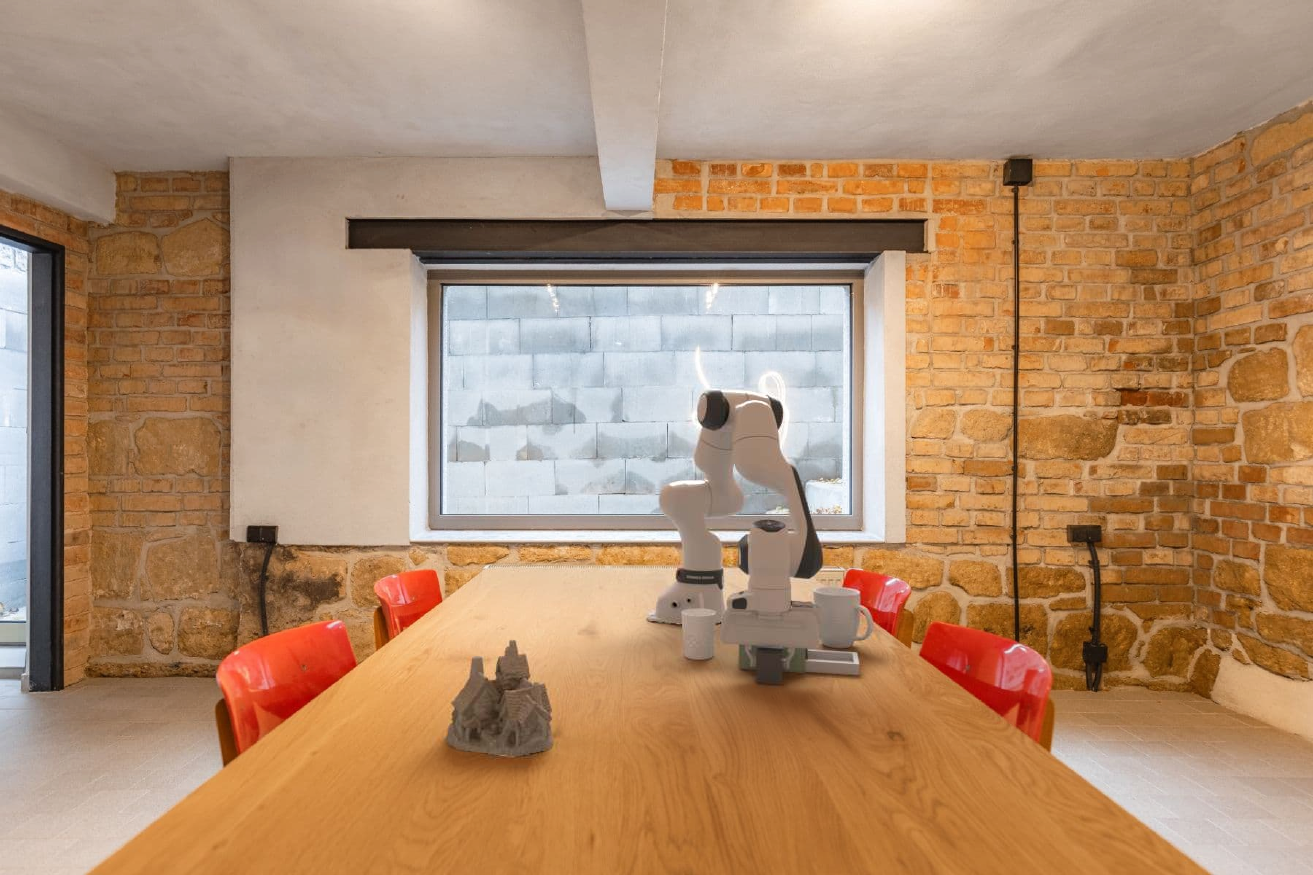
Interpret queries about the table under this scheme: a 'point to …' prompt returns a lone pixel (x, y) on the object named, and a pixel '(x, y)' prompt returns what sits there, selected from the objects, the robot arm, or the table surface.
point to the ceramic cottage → (501, 710)
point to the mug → (840, 616)
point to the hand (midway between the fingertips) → (769, 667)
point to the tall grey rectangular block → (769, 665)
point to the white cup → (698, 633)
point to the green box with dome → (811, 661)
